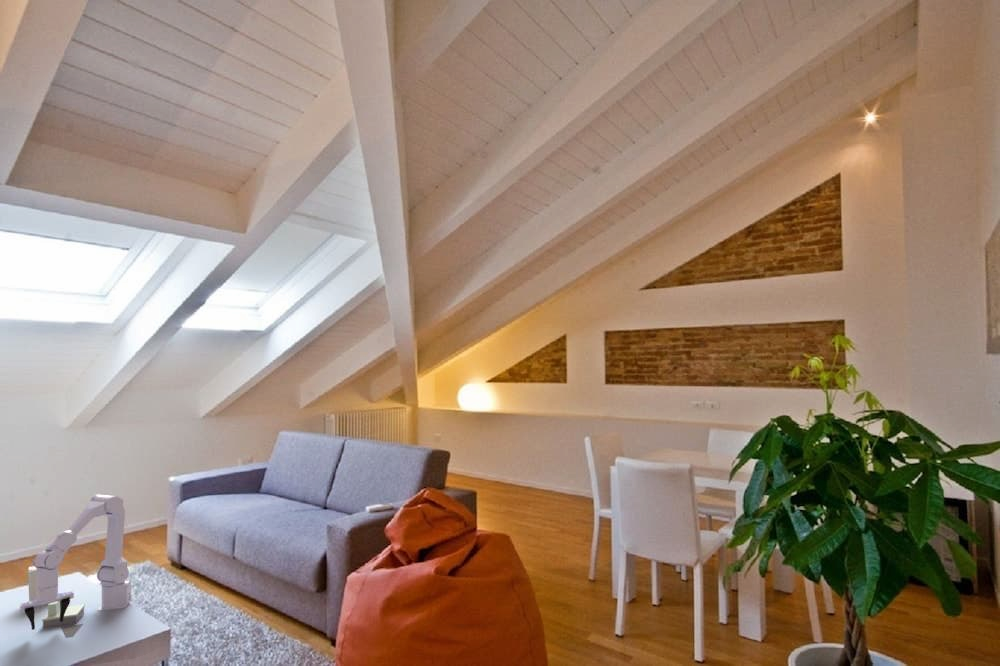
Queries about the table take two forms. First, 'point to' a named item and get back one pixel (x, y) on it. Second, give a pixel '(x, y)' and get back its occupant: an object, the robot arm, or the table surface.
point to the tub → (65, 620)
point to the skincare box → (32, 583)
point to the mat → (70, 630)
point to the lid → (55, 611)
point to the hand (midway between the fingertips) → (47, 624)
